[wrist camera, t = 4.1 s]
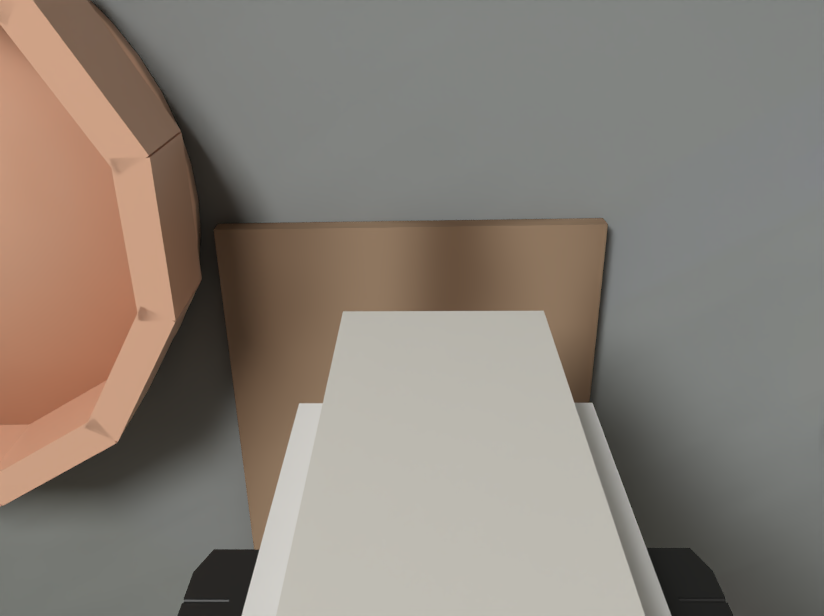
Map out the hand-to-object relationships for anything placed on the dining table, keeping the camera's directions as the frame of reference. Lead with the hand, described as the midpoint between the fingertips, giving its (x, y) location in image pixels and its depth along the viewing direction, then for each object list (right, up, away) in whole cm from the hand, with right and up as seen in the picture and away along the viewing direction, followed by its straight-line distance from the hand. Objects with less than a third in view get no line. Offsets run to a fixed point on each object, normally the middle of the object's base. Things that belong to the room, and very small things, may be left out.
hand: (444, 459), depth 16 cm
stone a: (0, +1, +2) cm, 2 cm away
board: (-1, -3, +12) cm, 12 cm away
